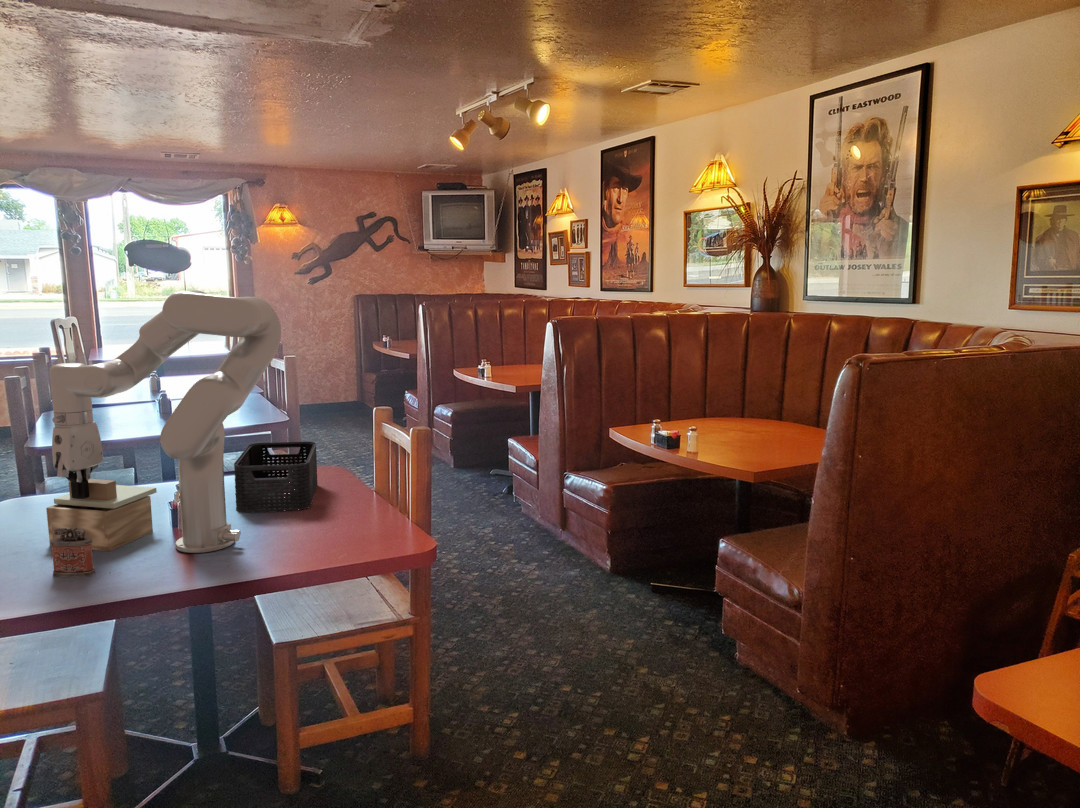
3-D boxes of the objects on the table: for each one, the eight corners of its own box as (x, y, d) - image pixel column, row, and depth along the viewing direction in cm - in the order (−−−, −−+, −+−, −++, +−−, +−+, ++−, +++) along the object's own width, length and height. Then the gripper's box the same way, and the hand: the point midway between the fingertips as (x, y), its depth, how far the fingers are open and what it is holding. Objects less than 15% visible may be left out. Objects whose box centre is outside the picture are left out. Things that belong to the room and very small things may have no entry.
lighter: (98, 571, 162) (94, 525, 160) (89, 577, 158) (85, 530, 157) (59, 571, 161) (55, 525, 160) (49, 577, 158) (45, 530, 156)
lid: (156, 492, 188) (155, 471, 187) (113, 508, 174) (112, 486, 173) (100, 488, 191) (98, 467, 190) (54, 503, 177) (52, 481, 177)
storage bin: (309, 511, 206) (307, 462, 204) (233, 514, 202) (230, 465, 200) (318, 484, 234) (317, 440, 232) (251, 486, 230) (249, 442, 228)
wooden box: (152, 531, 187) (150, 496, 186) (109, 551, 173) (106, 512, 172) (96, 527, 190) (93, 491, 189) (49, 545, 177) (46, 507, 175)
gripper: (61, 425, 164) (69, 508, 167) (112, 413, 178) (119, 490, 181) (31, 423, 165) (39, 506, 168) (84, 412, 180) (91, 488, 183)
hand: (80, 497), depth 175 cm, fingers closed
